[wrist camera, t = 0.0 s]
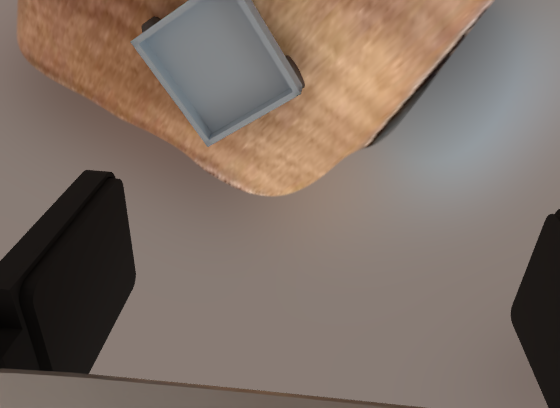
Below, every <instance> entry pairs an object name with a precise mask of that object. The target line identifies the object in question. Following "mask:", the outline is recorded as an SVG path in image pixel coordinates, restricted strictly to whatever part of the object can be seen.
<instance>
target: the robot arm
mask: <svg viewBox="0 0 560 408" xmlns="http://www.w3.org/2000/svg"><path fill="white" fill-rule="evenodd" d="M135 278H136V271H135V264H134V257H133V250H132V244H131V236H130V229H129V222H128V215H127V208H126V201H125V194H124V187H123V183H122V181H121V180H120V179H116V178H115V176H114V174H113V173H112V172H105V171H93V170H85V171H84V172H83V173H82V174H81V175H80V176H79V177H78V178H77V179H76V180H75V181H74V182H73V183H72V184H71V186H70V187H69V188H68V189H67V190H66V191H65V192H64V193H63V194H62V195H61V196H60V197H59V198H58V200H57V201H56V202H55V203H54V204H53V205H52V206H51V207H50V208H49V209H48V210H47V211H46V212H45V214H44V215H43V216H42V217H41V218H40V219H39V220H38V221H37V222H36V223H35V224H34V225H33V227H32V228H31V229H30V230H29V231H28V232H27V233H26V234H25V235H24V236H23V237H22V238H21V239H20V240H19V242H18V243H17V244H16V245H15V246H14V247H13V248H12V249H11V250H10V251H9V252H8V253H7V254H6V256H5V257H4V258H3V259H2V260H1V261H0V408H425V407H415V406H406V405H396V404H386V403H377V402H367V401H357V400H348V399H337V398H328V397H318V396H309V395H299V394H289V393H279V392H270V391H260V390H249V389H239V388H228V387H218V386H209V385H198V384H187V383H178V382H167V381H157V380H146V379H137V378H126V377H115V376H103V375H93V374H89V372H90V370H91V368H92V366H93V364H94V362H95V361H96V359H97V357H98V355H99V353H100V351H101V349H102V347H103V345H104V343H105V341H106V339H107V337H108V335H109V333H110V332H111V329H112V328H113V326H114V324H115V322H116V320H117V318H118V316H119V314H120V312H121V310H122V308H123V307H124V304H125V303H126V301H127V299H128V297H129V295H130V293H131V291H132V289H133V287H134V284H135ZM511 321H512V324H513V326H514V329H515V331H516V333H517V336H518V338H519V340H520V342H521V345H522V347H523V349H524V352H525V354H526V356H527V359H528V361H529V363H530V366H531V368H532V370H533V372H534V375H535V377H536V379H537V382H538V384H539V386H540V389H541V391H542V393H543V396H544V398H545V400H546V403H547V405H548V407H549V408H560V209H559V210H557V212H556V213H555V214H550V215H548V216H547V218H546V220H545V222H544V225H543V227H542V230H541V233H540V235H539V238H538V241H537V243H536V246H535V248H534V251H533V253H532V256H531V259H530V261H529V264H528V267H527V269H526V272H525V274H524V277H523V279H522V282H521V284H520V287H519V289H518V292H517V295H516V297H515V300H514V302H513V305H512V308H511Z"/></svg>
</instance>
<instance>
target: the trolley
mask: <svg viewBox="0 0 560 408" xmlns="http://www.w3.org/2000/svg"><path fill="white" fill-rule="evenodd" d="M142 32H143V33H142V34H140V35H139V36H138V37H136V38H135V39H133V40H132V41H131V43H132V45H133V46H134V47H135V49H136V50H137V52H138V53H139V54H140V56H141V57H142V58H143V60H144V61H145V62H146V64H147V65H148V67H149V68H150V69H151V71H152V72H153V73H154V75H155V76H156V77H157V79H158V80H159V81H160V83H161V84H162V86H163V87H164V88H165V90H166V91H167V92H168V94H169V95H170V96H171V98H172V99H173V100H174V102H175V103H176V105H177V106H178V107H179V109H180V110H181V111H182V113H183V114H184V115H185V117H186V118H187V119H188V121H189V122H190V124H191V125H192V126H193V128H194V129H195V130H196V132H197V133H198V134H199V136H200V137H201V138H202V140H203V141H204V143H205V144H206V145H207V147H209V146H210V145H212V144H214V143H216V142H217V141H219V140H221V139H223V138H224V137H226V136H228V135H230V134H231V133H233V132H235V131H237V130H238V129H240V128H242V127H244V126H245V125H247V124H249V123H251V122H252V121H254V120H256V119H258V118H260V117H261V116H263V115H265V114H267V113H268V112H270V111H272V110H274V109H275V108H277V107H279V106H281V105H282V104H284V103H286V102H288V101H289V100H291V99H293V98H295V97H296V96H298V95H300V94H301V91H302V88H304V87H305V84H304V80H303V78H302V75H301V73H300V71H299V69H298V68H297V66H296V64H295V63H294V61H293V60H292V59H291V58H290V57H289V56H286V57H285V55H284V54H283V52H282V50H281V49H280V47H279V45H278V44H277V42H276V40H275V39H274V37H273V35H272V34H271V32H270V30H269V29H268V27H267V25H266V24H265V22H264V20H263V19H262V17H261V15H260V14H259V12H258V10H257V9H256V7H255V5H254V4H253V2H252V0H188V1H187V2H186V3H184V4H183V5H181V6H180V7H179V8H177V9H176V10H174V11H173V12H171V13H170V14H169V15H167V16H166V17H164V18H163V19H162V20H161V19H160V18H158V17H155V16H154V17H152V18H151V19H149V20H148V21H147V22H145V23H144V24H143V25H142Z"/></svg>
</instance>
